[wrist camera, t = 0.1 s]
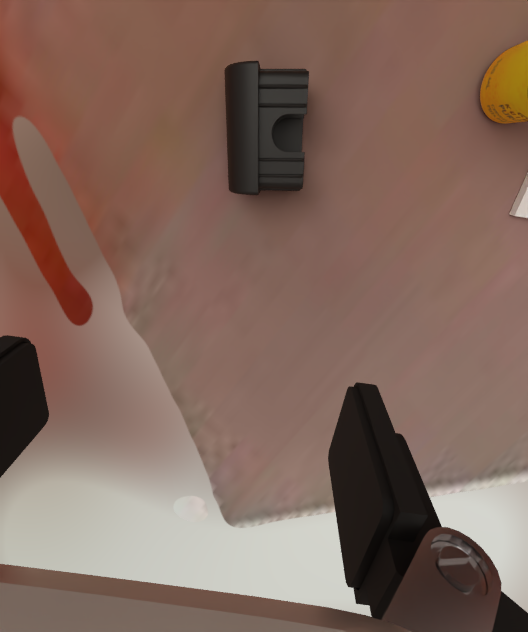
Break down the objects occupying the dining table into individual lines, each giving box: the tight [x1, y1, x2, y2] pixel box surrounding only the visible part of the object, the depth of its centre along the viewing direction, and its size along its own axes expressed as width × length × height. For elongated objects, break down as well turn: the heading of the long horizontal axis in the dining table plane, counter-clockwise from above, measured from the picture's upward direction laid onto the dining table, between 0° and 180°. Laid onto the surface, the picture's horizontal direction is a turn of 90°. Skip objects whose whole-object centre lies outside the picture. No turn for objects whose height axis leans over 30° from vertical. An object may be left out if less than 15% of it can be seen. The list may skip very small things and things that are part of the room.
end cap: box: [225, 61, 309, 195], centre depth 32 cm, size 10×7×7 cm
